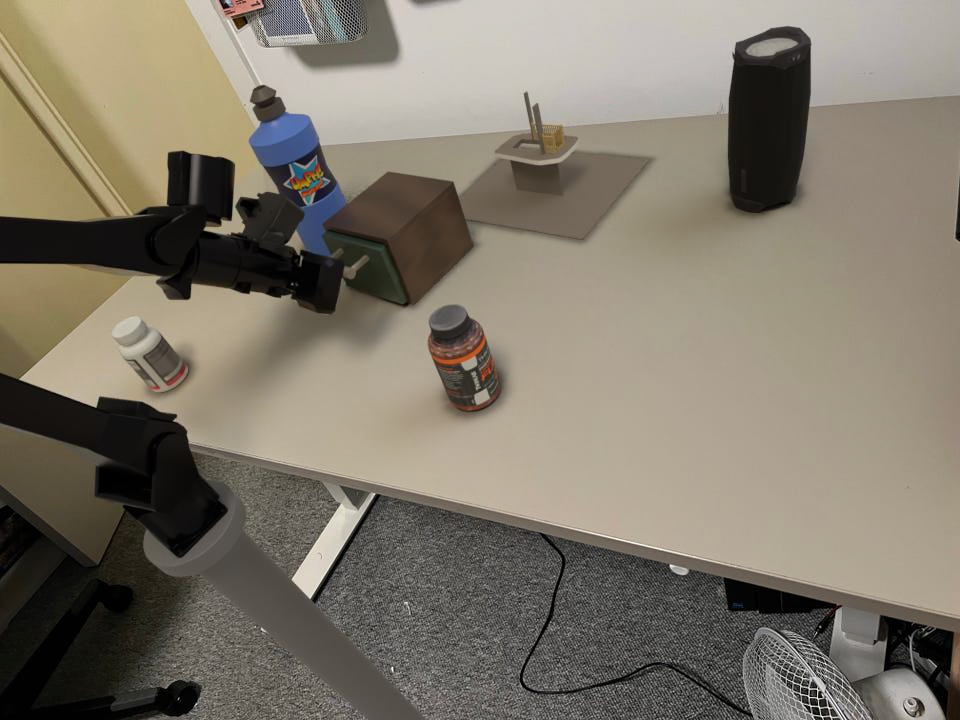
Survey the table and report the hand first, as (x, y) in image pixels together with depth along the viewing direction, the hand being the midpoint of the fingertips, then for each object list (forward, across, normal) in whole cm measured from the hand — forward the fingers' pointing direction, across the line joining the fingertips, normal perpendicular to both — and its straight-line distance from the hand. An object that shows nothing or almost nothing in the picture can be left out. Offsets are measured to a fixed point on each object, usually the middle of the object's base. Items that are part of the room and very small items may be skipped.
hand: (336, 280), depth 81 cm
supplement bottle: (+2, -24, +8) cm, 25 cm away
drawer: (+10, 0, -2) cm, 10 cm away
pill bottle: (-9, +18, +19) cm, 28 cm away
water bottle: (+14, +19, -4) cm, 24 cm away
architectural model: (+30, -8, -20) cm, 37 cm away
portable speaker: (+33, -39, -24) cm, 56 cm away
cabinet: (+13, 0, -4) cm, 14 cm away
